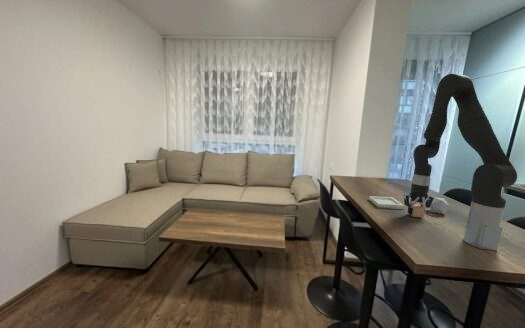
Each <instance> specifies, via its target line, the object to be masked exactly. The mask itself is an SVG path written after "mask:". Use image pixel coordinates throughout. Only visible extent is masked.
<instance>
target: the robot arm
mask: <svg viewBox="0 0 525 328" xmlns="http://www.w3.org/2000/svg"><path fill="white" fill-rule="evenodd" d="M476 92H477V91H476V89H475V86H474V82H473V80H472V79H471V78H470V77H469V76H467V75H465V74H464V75H463V74H458V73H449V74H446V75H444V76H442V77H441V79H440V80H439V82H438V85H437V89H436V92H435V97H434V101H433V106H432V111H431V113H430V114H431V115H430V116H429V117H430V118H429V120H428V122H427V126H426V128H425V131H424V132H423V138H424V139H425V143H424V144H423V143H422V144H418V145H417V146H416V147H415V148H414V150H413V162H414V170H413V171H414V172H413V175H412V178H411V179H412V180H411V186H410V193H409V194H403V200H404V201H403V203H404V204H403V205H405V206H406V207H407V213H409V215H410V216H411V215H412V211H413V206H414V205H417V203H419V205H420V206H422V207H424V208H425V211H424V214H425V212H426V210H427V208H428V209H430V206H431V204H432V201H433V199H434V198H433V197H434V196H432V195H428V194H429V192H430V186H431V185H430V184H431V175H432V169H433V167H432V164H430V163H429V159H433V158H434V157H436V155H438V153H439V151H440V145H441V138H442V137H443V135H444V132H445V130H446V128H447V124H448V107H449V104H450V101H451V100H452V98H453V100H454V101H455V104H456V105H457V107H458V108H457V109H458V114H457V127H458V129H459V131H460V134H461V137H462V138H463V139H464V141H465V142H466V143H467V144H468V145H469V146H470V147H471V148H472V149H473V150H474V151H475V152H476V153H477V154H478V155H479V157H480V159H481V160H482V163H483V164H481V165H479V166H478V167H477V168H476V169H475V171H474V173H473V176H472V182H471V189H470V195H471V203H470V207H469V212H468V216H467V220H466V225H465V230H464V235H463V241H464V242H465V243H467V244H468V245H470V246H473V247H475V248H478V249H479V250H485V251H486V250H490V251H498V249H499V248H498V247H499V243H500V240H501V236H502V233H503V227H502V226H501V224H502V220H503V217H504V212H505V207H506V204H507V200H506V199H505V198H504V197H502V191H503V190H502V189H503V188H507V187H511V186H512V185H515V183H516V182H517V180H518V172H517V171H516V168H515V166H514V165H513V164H512V162H511V160H510V159H509V158H508V155H506V153H505V152H504V150H503V148H502V145H501V144H500V142H499V140H498V137H497V135H496V134H495V132H494V130H493V127H492V124H491V122H490V120H489V118H488V116H487V114H486V113H485V111H484V108H483V106H482V104H481V103H480V101H479V99H478V98H479V97H478V95H477V93H476Z"/></svg>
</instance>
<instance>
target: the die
mask: <svg viewBox="0 0 525 328" xmlns="http://www.w3.org/2000/svg"><path fill="white" fill-rule="evenodd" d="M432 197H433V198H434V199H433V201H432V204H431V206H430V208H429V210H430V211H431V213H434V214H439V215H440V214H441V215H444V214H445V213H446V212H447V211H448V209H449V208H450V205H449V203H448V202H447V201H446V200H447V199H445V198H442V197H436V196H435V197H434V196H432Z"/></svg>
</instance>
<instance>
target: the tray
mask: <svg viewBox="0 0 525 328" xmlns="http://www.w3.org/2000/svg"><path fill="white" fill-rule="evenodd" d="M368 201H370V202H371V203H372V204H373V205H374V206H376V208H378V209H392V210H405V206H406V205H405V204H403V203H401V202H400V201H399V200H397V199H396V198H395V197H392V196H374V195H373V196H372V195H370V196H368Z"/></svg>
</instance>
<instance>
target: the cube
mask: <svg viewBox="0 0 525 328" xmlns="http://www.w3.org/2000/svg"><path fill="white" fill-rule="evenodd" d="M424 211H425V212H426V209H425V208H424V207H422V206H421V205H420V204H415V205H414V206H413V211H412V215H410V214H409V213H408V212H407V213H408V214H409V215H410V216H411V217H413V218H424V216H425V213H424Z"/></svg>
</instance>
